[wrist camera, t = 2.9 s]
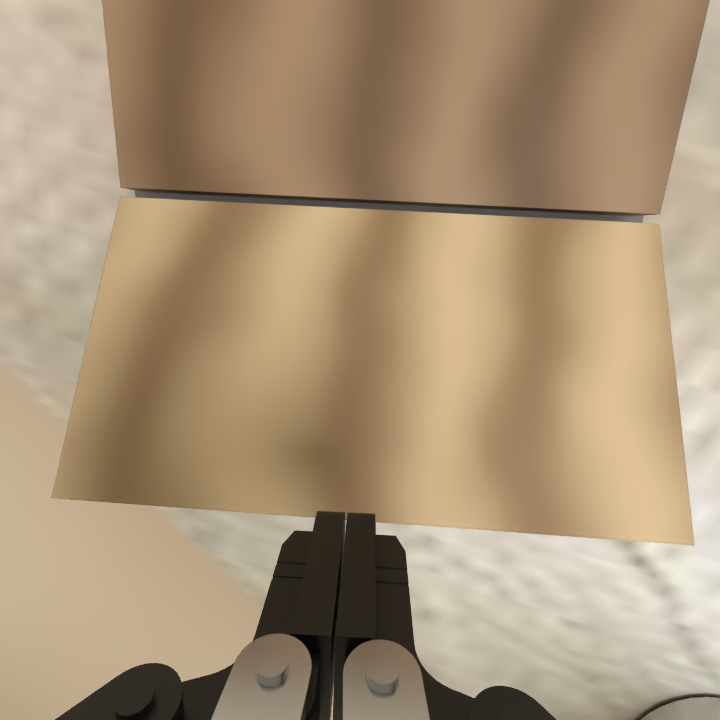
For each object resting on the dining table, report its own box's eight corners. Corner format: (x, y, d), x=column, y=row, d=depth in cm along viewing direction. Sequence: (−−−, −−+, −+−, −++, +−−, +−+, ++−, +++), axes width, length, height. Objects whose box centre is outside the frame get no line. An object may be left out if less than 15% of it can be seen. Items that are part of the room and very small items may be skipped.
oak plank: (630, 247, 19) (658, 223, 17) (657, 536, 16) (694, 545, 14) (143, 221, 20) (119, 196, 18) (85, 494, 17) (51, 498, 15)
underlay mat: (706, -134, 16) (726, -157, 15) (578, 461, 24) (586, 470, 23) (118, -148, 17) (102, -171, 16) (166, 432, 24) (157, 441, 23)
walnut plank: (706, -129, 16) (751, -180, 14) (631, 216, 19) (659, 214, 17) (118, -143, 16) (82, -193, 15) (145, 191, 20) (120, 187, 18)
